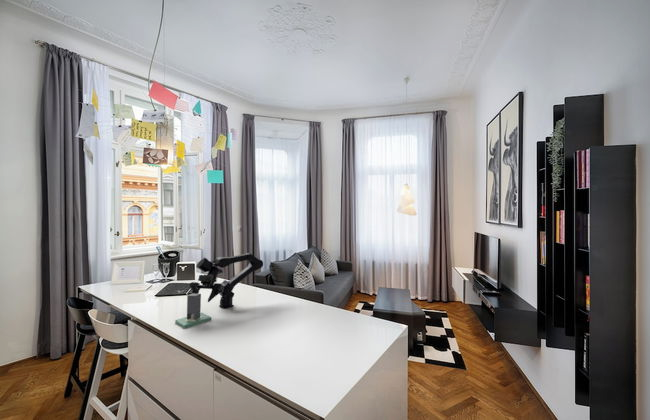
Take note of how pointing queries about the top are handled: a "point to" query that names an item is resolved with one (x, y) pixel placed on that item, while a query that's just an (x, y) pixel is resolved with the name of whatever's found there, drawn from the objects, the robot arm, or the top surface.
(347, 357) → the top surface
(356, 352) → the top surface
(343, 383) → the top surface
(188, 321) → the board
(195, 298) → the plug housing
